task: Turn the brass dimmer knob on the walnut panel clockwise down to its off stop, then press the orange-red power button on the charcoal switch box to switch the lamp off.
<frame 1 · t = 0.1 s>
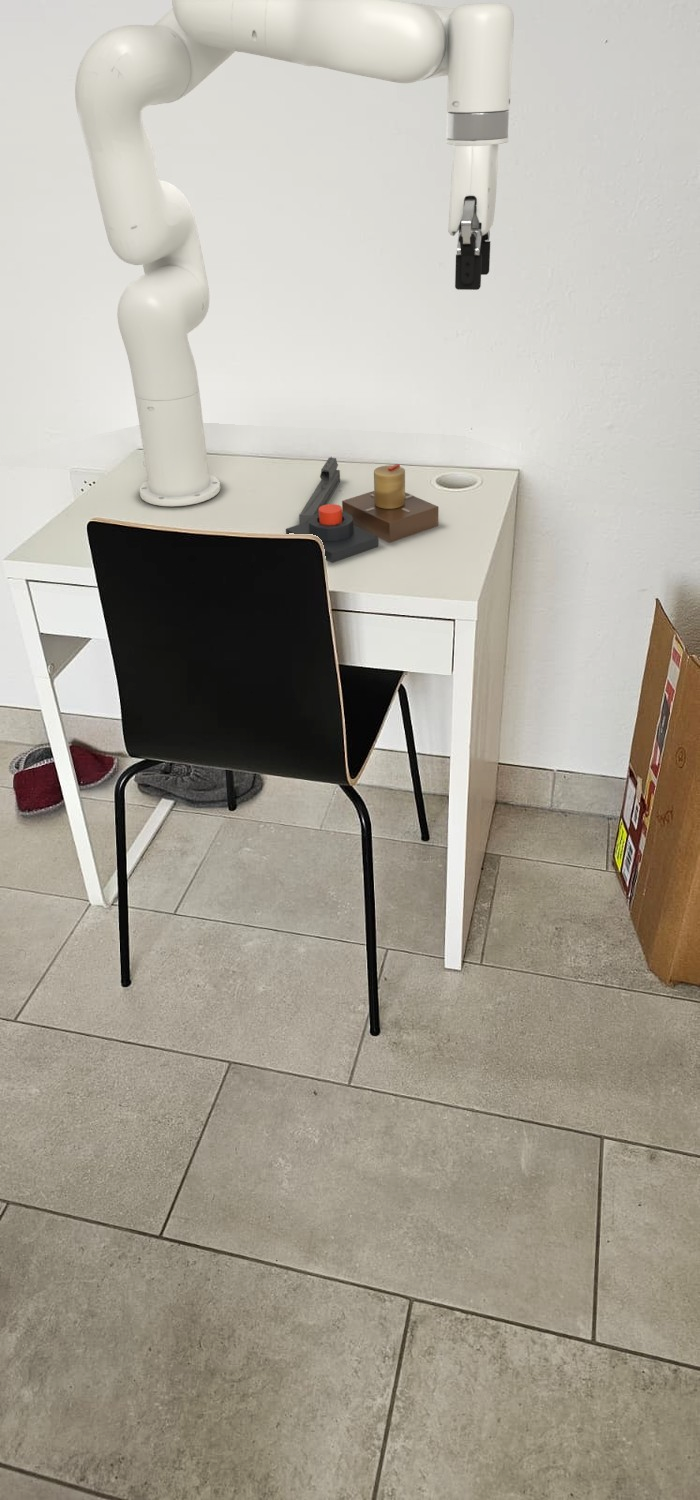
hand: (472, 281, 133), 31 cm above the table, tool pointing down, fingers open, 9 cm apart
dark grey long bar: (322, 505, 154), on the table
dimmer knob: (389, 486, 144), point 6 cm above the table, hinge at 105.0°
switch box: (331, 542, 142), on the table
power button: (330, 515, 140), point 4 cm above the table, slide at 0.1 cm
dimmer: (389, 523, 147), on the table
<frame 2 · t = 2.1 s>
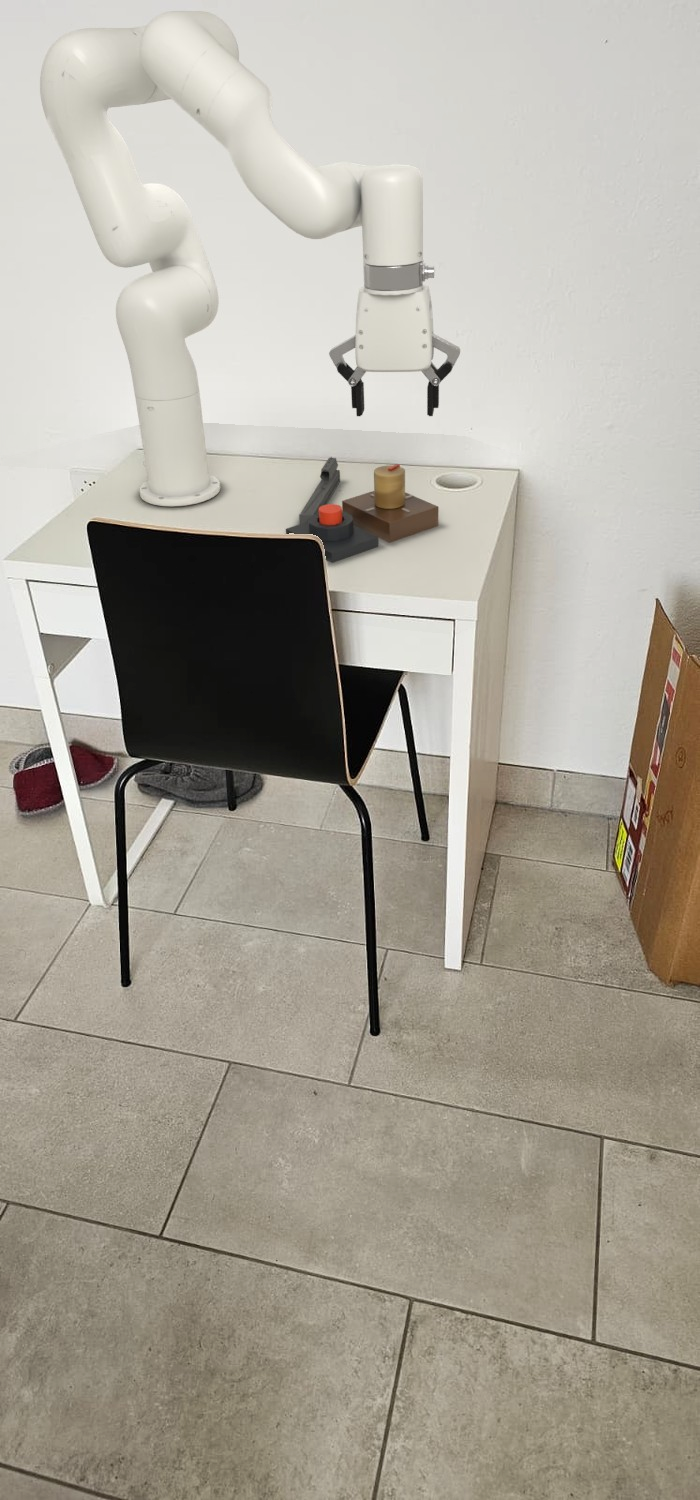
hand: (395, 413, 138), 16 cm above the table, tool pointing down, fingers open, 9 cm apart
nothing on the table moved.
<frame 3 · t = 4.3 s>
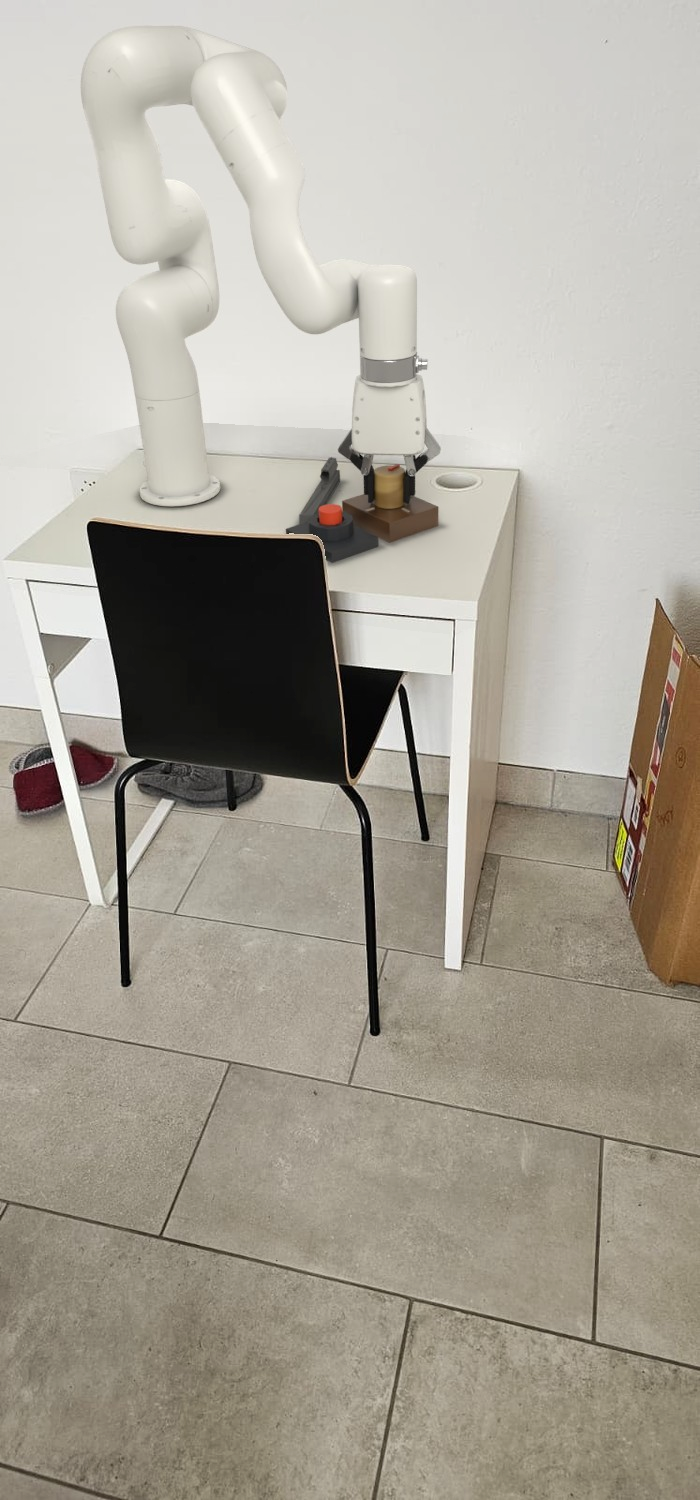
hand: (389, 498, 145), 4 cm above the table, tool pointing down, fingers closed on dimmer knob, 4 cm apart
dimmer knob: (389, 486, 144), point 6 cm above the table, hinge at 105.1°, touching gripper
everything else where it was.
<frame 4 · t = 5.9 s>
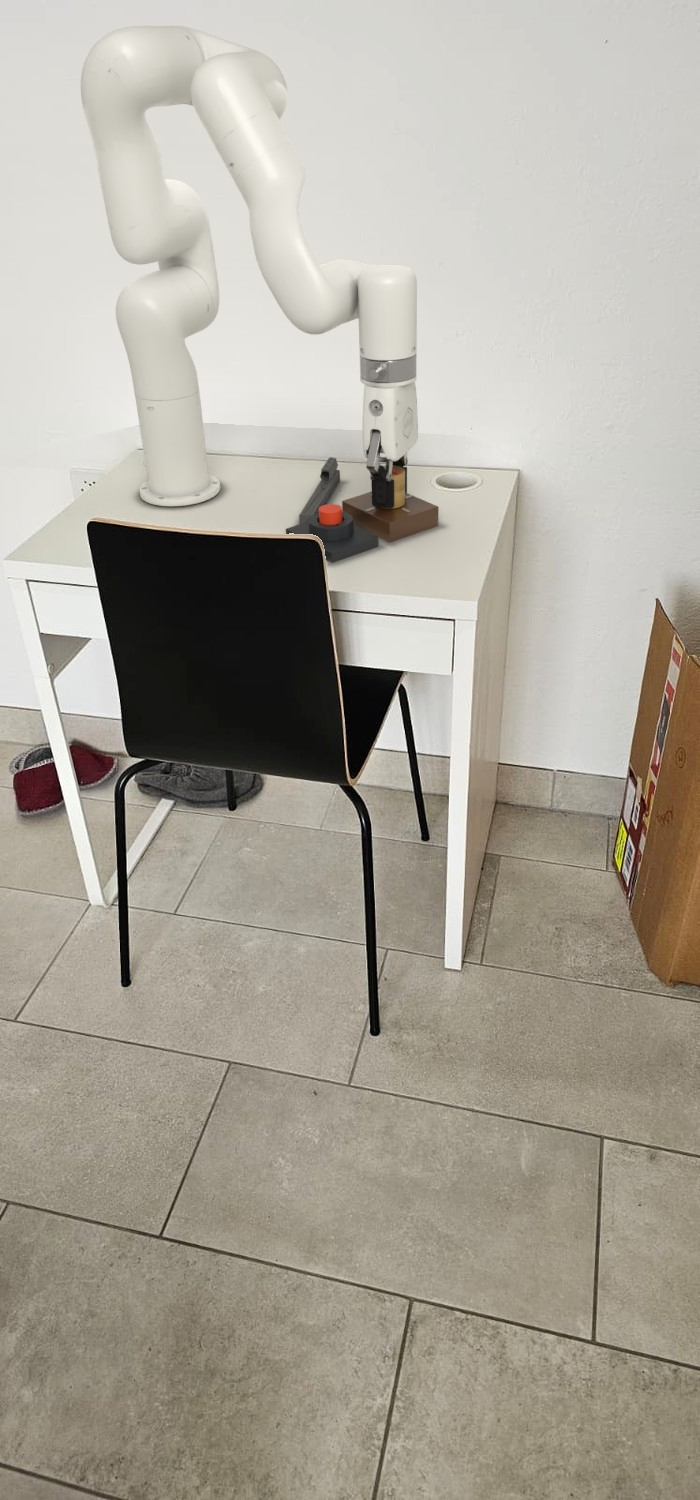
hand: (389, 498, 145), 4 cm above the table, tool pointing down, fingers closed on dimmer knob, 4 cm apart
dimmer knob: (389, 486, 144), point 6 cm above the table, hinge at 0.6°, touching gripper
everything else where it was.
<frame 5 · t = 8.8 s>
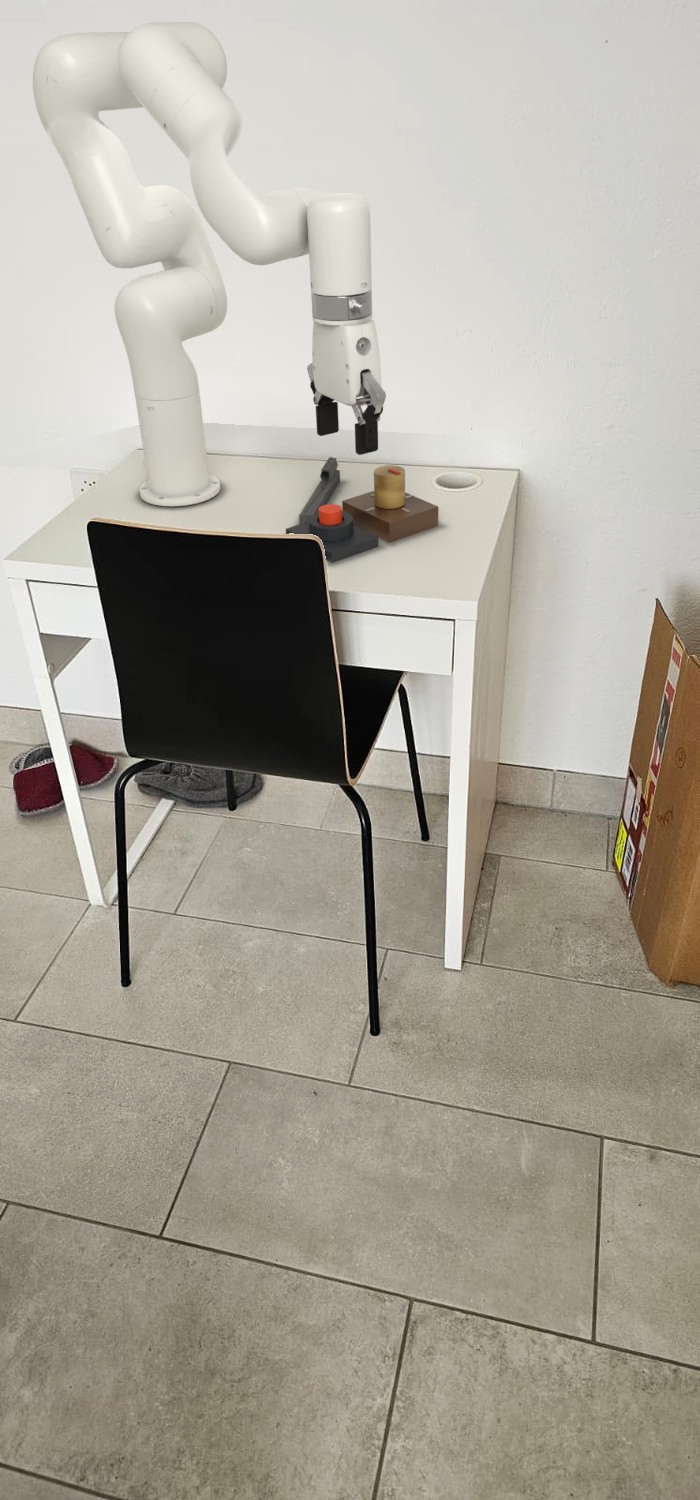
hand: (347, 442, 136), 13 cm above the table, tool pointing down, fingers open, 9 cm apart
dimmer knob: (389, 486, 144), point 6 cm above the table, hinge at 0.6°
everything else where it was.
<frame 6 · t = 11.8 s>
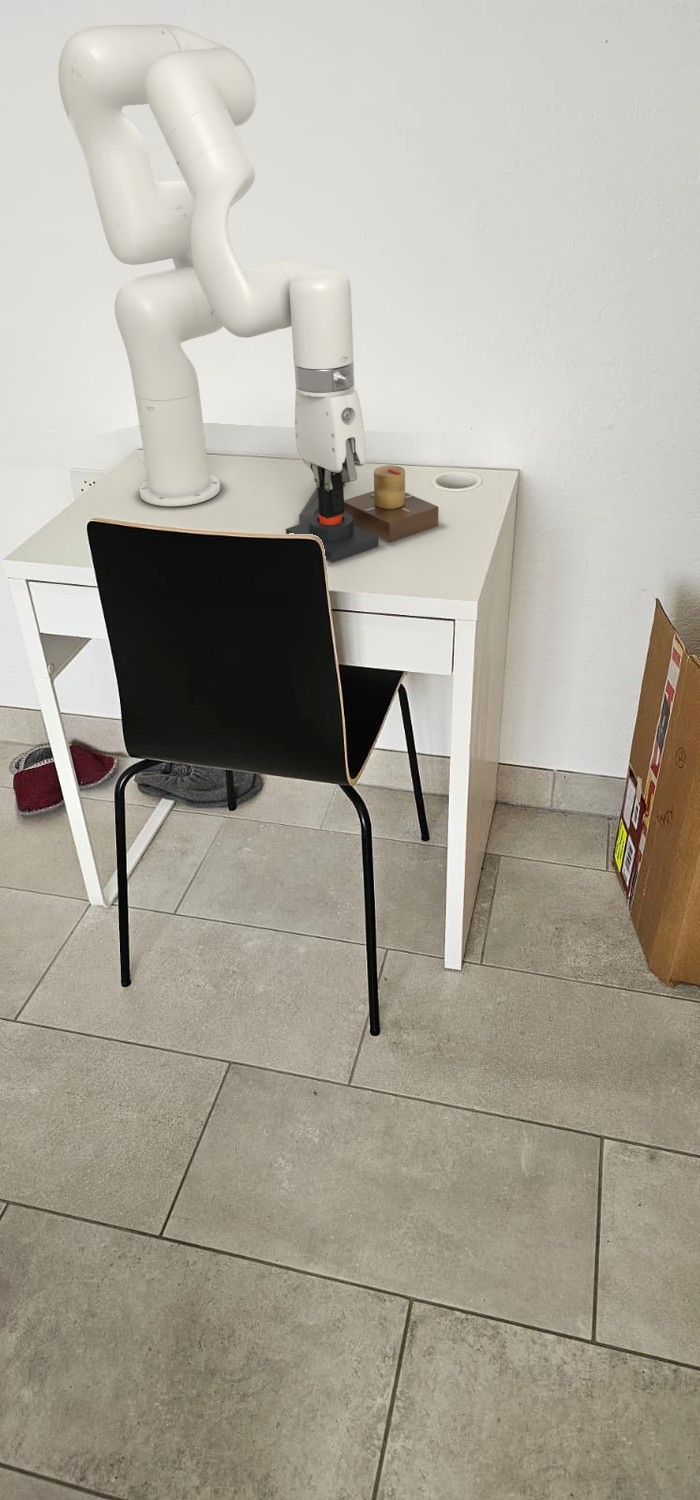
hand: (331, 514, 140), 4 cm above the table, tool pointing down, fingers closed
power button: (330, 520, 140), point 3 cm above the table, slide at -0.7 cm, touching gripper
everything else where it was.
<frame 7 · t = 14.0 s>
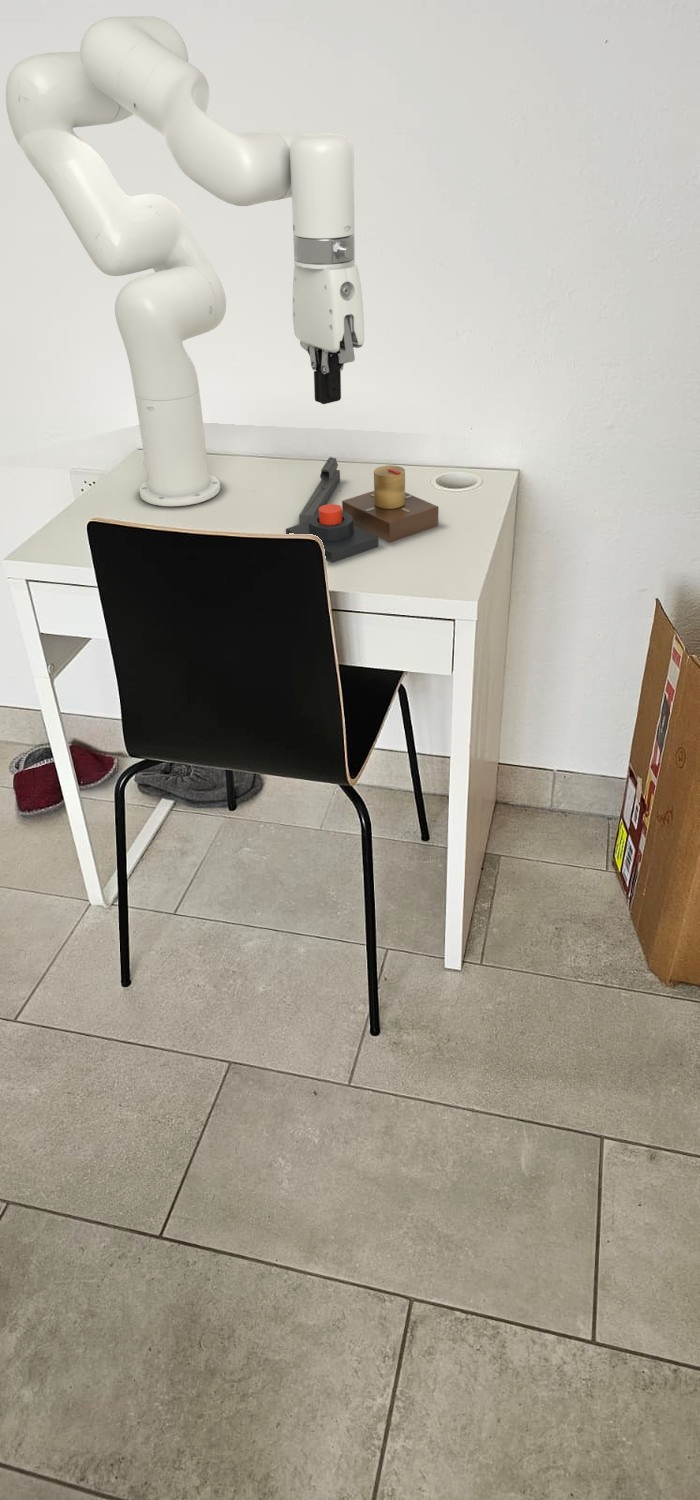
hand: (327, 400, 136), 18 cm above the table, tool pointing down, fingers closed
power button: (330, 515, 140), point 4 cm above the table, slide at 0.1 cm
everything else where it was.
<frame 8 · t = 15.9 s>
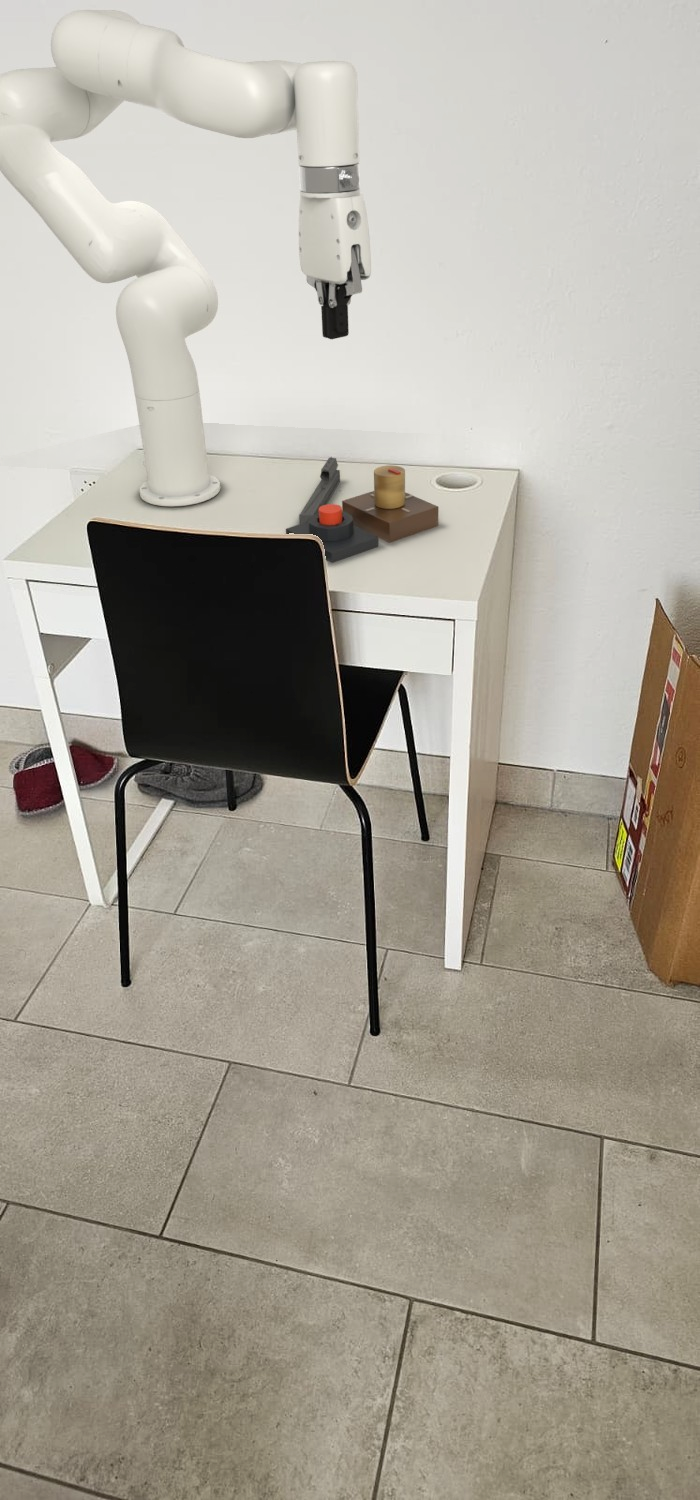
hand: (335, 336, 136), 25 cm above the table, tool pointing down, fingers closed
nothing on the table moved.
at the end: dimmer knob at +1° (first picture: +105°); power button pushed in 1.1 cm at the most during the clip, back to where it started at the end; power button slide at 0.1 cm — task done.
